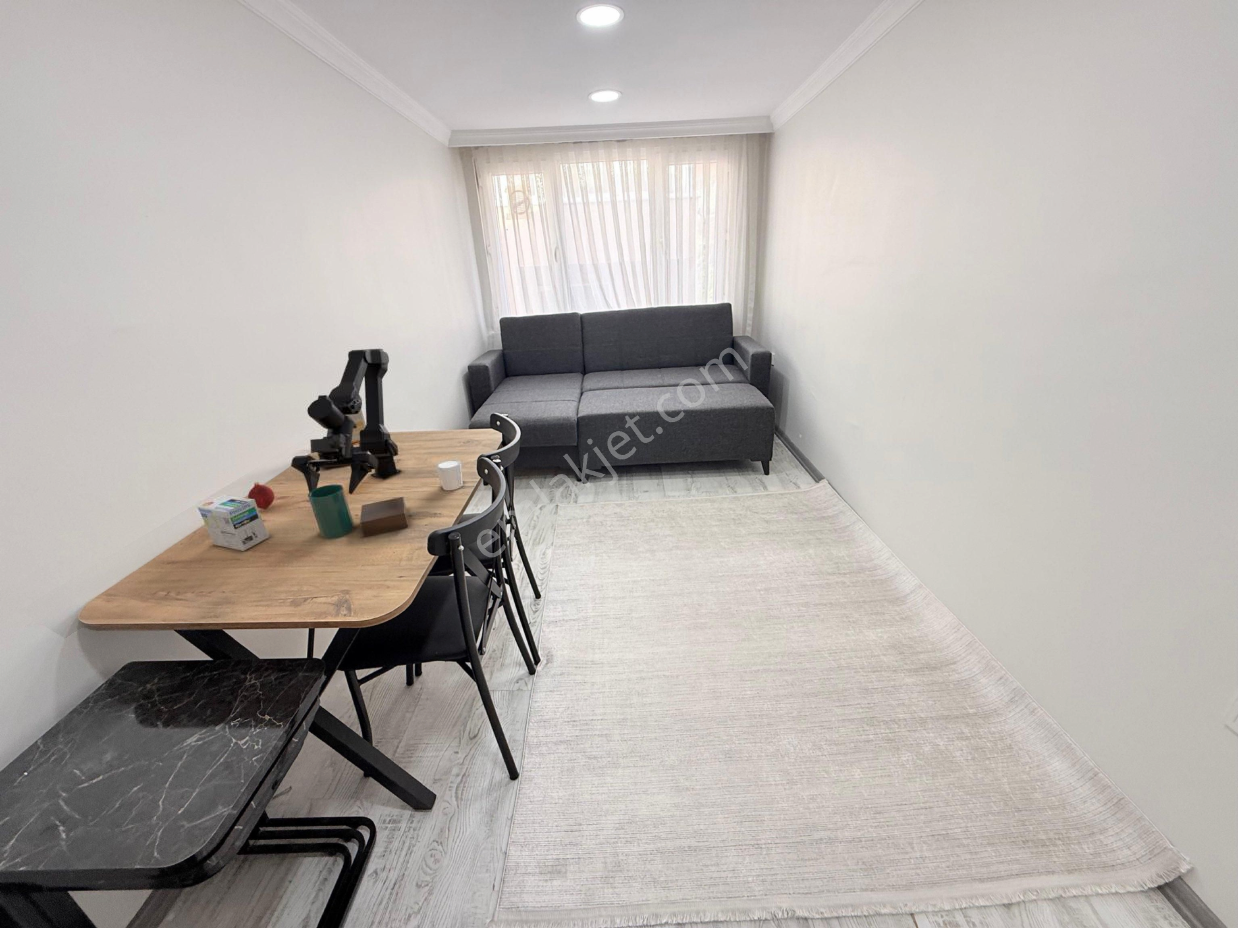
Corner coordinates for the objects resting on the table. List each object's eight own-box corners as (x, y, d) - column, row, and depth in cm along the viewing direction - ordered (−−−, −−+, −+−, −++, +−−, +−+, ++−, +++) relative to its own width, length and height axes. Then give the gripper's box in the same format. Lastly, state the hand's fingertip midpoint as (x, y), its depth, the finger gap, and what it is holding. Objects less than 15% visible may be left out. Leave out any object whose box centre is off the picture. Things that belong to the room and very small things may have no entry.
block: (365, 518, 128) (361, 505, 126) (406, 509, 131) (403, 496, 130) (364, 537, 119) (359, 522, 118) (408, 527, 123) (404, 513, 121)
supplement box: (368, 436, 188) (359, 403, 182) (369, 439, 184) (361, 406, 179) (344, 441, 184) (334, 407, 179) (345, 444, 180) (335, 410, 175)
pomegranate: (282, 505, 137) (273, 479, 133) (261, 515, 132) (251, 488, 129) (269, 502, 139) (260, 476, 136) (248, 511, 134) (238, 485, 131)
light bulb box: (270, 537, 121) (255, 498, 117) (243, 552, 115) (227, 511, 111) (240, 531, 124) (224, 493, 120) (212, 545, 119) (195, 506, 114)
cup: (314, 534, 122) (301, 494, 117) (342, 520, 127) (331, 482, 123) (332, 541, 118) (319, 500, 114) (360, 526, 124) (349, 487, 120)
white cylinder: (468, 480, 147) (464, 459, 144) (459, 491, 140) (455, 469, 138) (446, 480, 147) (442, 459, 145) (436, 491, 141) (431, 468, 138)
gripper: (282, 425, 119) (271, 486, 113) (362, 420, 120) (354, 481, 114) (308, 444, 129) (299, 501, 123) (381, 440, 130) (375, 496, 124)
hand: (331, 494), depth 121 cm, fingers open, 9 cm apart
